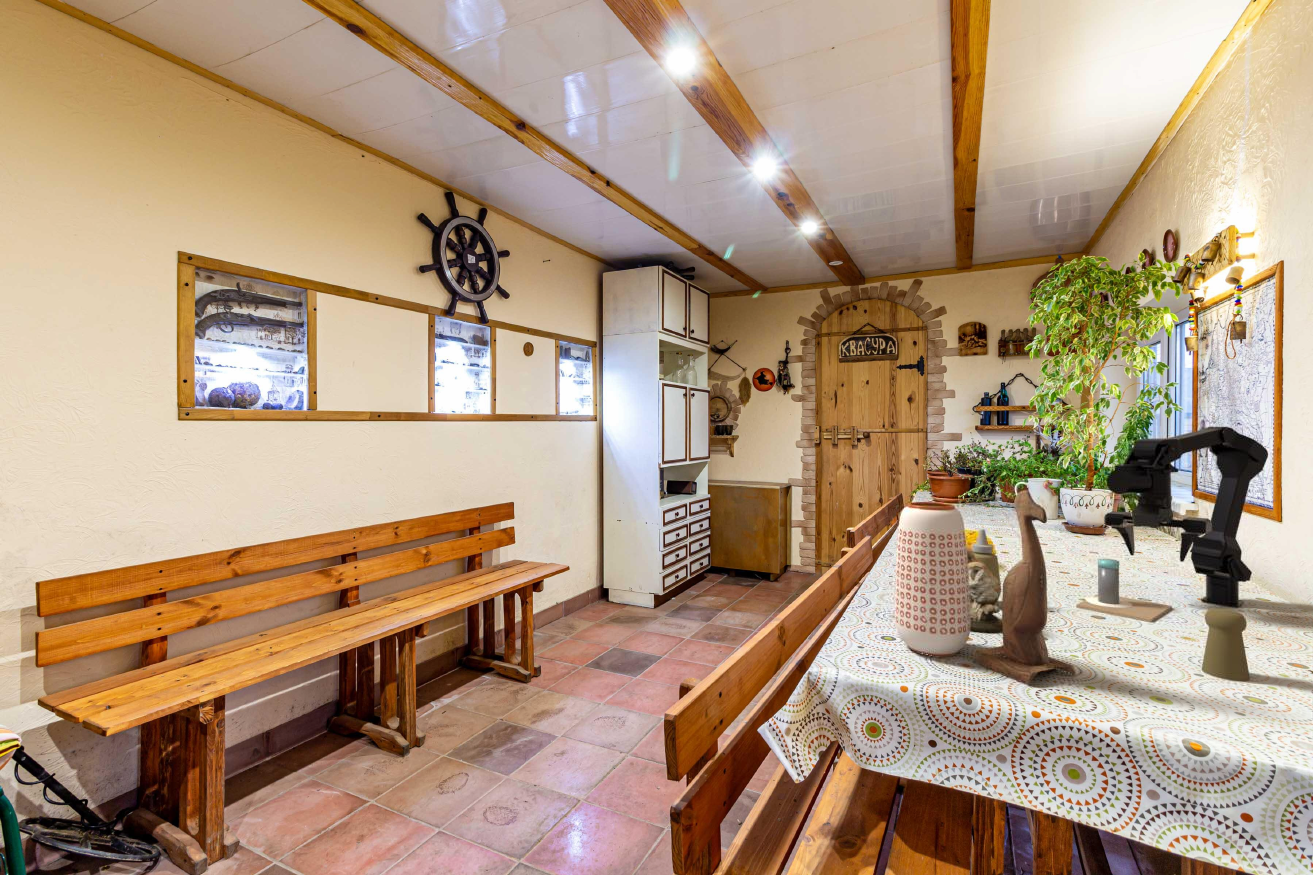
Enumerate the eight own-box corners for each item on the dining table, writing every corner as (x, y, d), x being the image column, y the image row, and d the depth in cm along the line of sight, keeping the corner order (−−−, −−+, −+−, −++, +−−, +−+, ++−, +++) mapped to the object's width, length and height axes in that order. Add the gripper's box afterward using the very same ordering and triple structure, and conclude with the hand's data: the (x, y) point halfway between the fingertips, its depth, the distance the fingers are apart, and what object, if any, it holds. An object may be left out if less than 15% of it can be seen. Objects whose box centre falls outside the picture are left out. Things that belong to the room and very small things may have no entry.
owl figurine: (907, 616, 136) (907, 542, 136) (935, 607, 142) (934, 536, 142) (989, 637, 121) (988, 554, 121) (1015, 626, 128) (1015, 547, 128)
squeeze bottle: (997, 600, 147) (997, 527, 147) (1005, 609, 139) (1004, 533, 139) (961, 597, 149) (960, 526, 149) (966, 606, 142) (966, 531, 142)
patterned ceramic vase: (939, 667, 106) (938, 510, 106) (880, 643, 118) (879, 503, 118) (986, 653, 112) (985, 505, 112) (925, 632, 124) (924, 498, 124)
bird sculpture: (1034, 690, 97) (1040, 496, 96) (971, 662, 108) (976, 488, 107) (1077, 678, 102) (1083, 493, 101) (1012, 653, 113) (1017, 486, 111)
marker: (1101, 598, 145) (1101, 557, 145) (1121, 602, 141) (1121, 560, 141) (1095, 601, 142) (1095, 560, 142) (1116, 605, 139) (1115, 563, 139)
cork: (1260, 682, 98) (1260, 616, 98) (1217, 679, 100) (1217, 614, 100) (1232, 668, 104) (1232, 605, 104) (1192, 665, 106) (1192, 604, 106)
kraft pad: (1098, 594, 150) (1098, 592, 150) (1172, 608, 139) (1172, 605, 139) (1073, 606, 141) (1073, 603, 141) (1150, 622, 129) (1150, 618, 129)
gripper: (1095, 492, 142) (1096, 557, 142) (1198, 498, 127) (1199, 570, 127) (1111, 488, 149) (1113, 550, 149) (1211, 493, 133) (1213, 562, 134)
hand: (1156, 558), depth 139 cm, fingers open, 9 cm apart
